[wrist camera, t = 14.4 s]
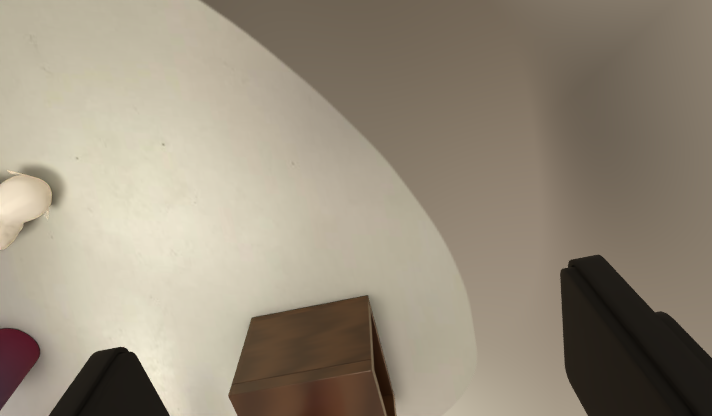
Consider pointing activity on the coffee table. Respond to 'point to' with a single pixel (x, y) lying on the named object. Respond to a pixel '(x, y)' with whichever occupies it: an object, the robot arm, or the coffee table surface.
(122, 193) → the coffee table surface
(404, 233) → the coffee table surface
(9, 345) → the cup
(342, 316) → the walnut wood cube
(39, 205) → the white figurine
